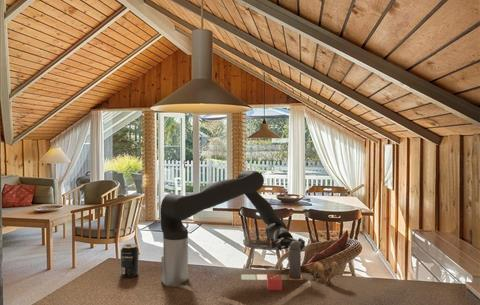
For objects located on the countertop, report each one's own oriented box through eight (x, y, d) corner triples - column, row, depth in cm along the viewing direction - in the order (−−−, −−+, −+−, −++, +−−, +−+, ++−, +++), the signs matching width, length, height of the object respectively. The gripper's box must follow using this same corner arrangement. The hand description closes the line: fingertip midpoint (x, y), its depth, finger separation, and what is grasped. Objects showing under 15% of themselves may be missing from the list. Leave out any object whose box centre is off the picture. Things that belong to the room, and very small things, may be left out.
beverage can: (131, 271, 150) (131, 242, 150) (141, 274, 146) (142, 245, 146) (116, 276, 144) (117, 246, 144) (127, 279, 140) (127, 248, 140)
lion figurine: (342, 286, 136) (342, 262, 136) (333, 289, 133) (333, 264, 133) (313, 274, 148) (313, 252, 148) (303, 277, 145) (304, 254, 144)
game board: (235, 286, 135) (235, 282, 135) (235, 275, 147) (235, 271, 147) (311, 286, 135) (311, 283, 135) (305, 275, 147) (305, 272, 147)
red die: (267, 293, 128) (268, 279, 128) (266, 288, 133) (266, 274, 133) (282, 293, 128) (282, 279, 128) (280, 288, 133) (280, 274, 133)
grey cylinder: (287, 277, 140) (286, 241, 140) (292, 274, 144) (292, 239, 144) (297, 279, 138) (297, 243, 138) (302, 276, 141) (302, 240, 141)
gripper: (267, 229, 164) (273, 239, 147) (298, 229, 165) (308, 238, 149) (267, 246, 164) (273, 257, 148) (298, 245, 165) (308, 256, 149)
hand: (291, 247), depth 148 cm, fingers open, 8 cm apart
